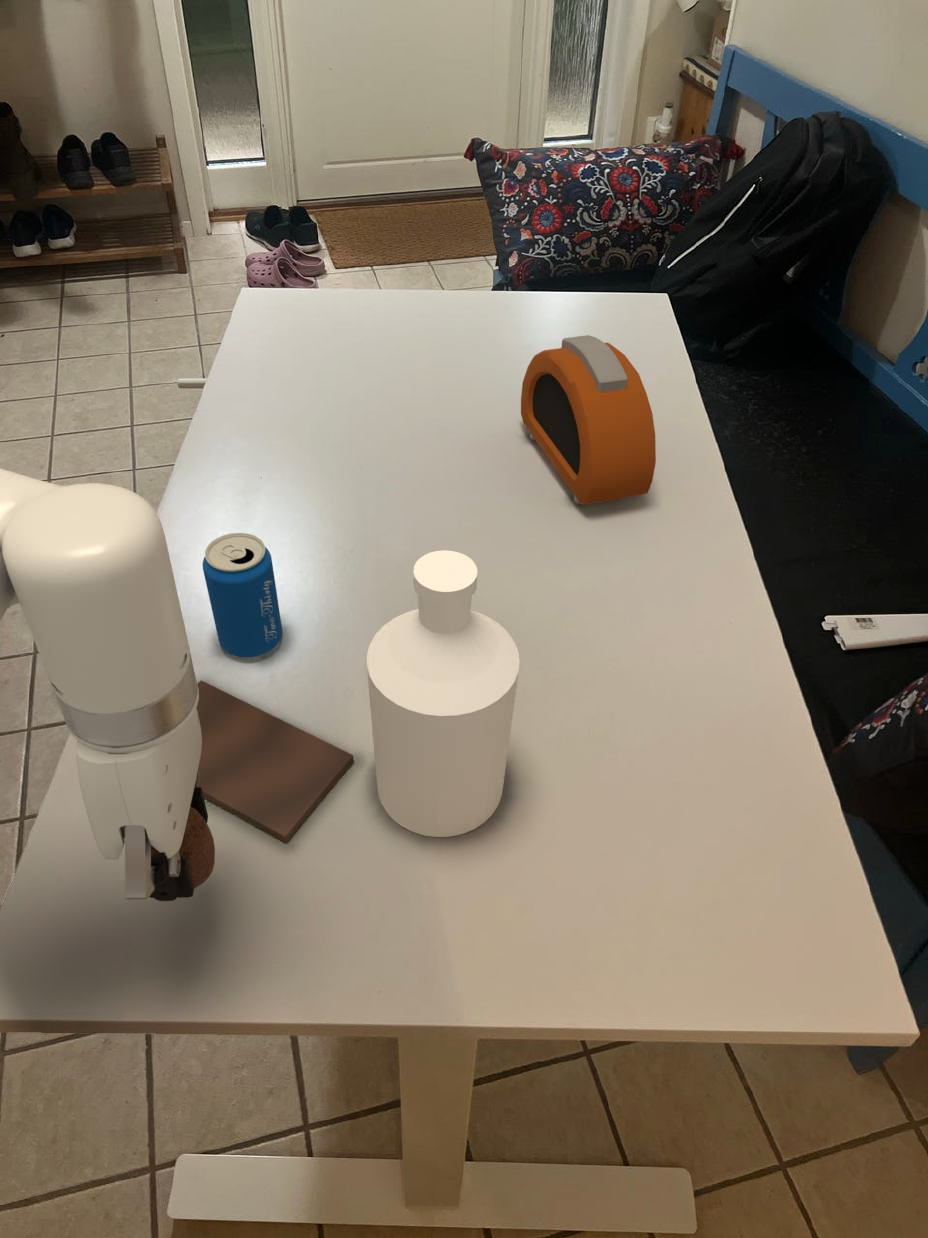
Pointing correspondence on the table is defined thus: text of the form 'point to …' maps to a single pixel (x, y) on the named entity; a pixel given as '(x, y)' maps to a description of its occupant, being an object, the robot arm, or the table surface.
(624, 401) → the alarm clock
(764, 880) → the table surface
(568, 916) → the table surface
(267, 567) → the beverage can
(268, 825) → the walnut board
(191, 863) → the coconut
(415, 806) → the bottle
